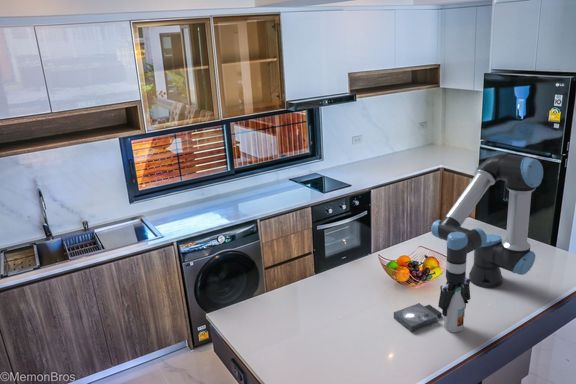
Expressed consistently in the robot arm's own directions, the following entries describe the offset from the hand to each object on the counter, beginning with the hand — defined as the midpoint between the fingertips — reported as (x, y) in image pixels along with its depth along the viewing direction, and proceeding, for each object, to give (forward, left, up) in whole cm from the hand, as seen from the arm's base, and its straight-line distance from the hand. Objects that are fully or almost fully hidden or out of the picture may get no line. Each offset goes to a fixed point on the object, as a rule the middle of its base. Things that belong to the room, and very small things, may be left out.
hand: (453, 318), depth 199 cm
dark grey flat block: (+8, -12, -4) cm, 15 cm away
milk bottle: (0, 0, -4) cm, 4 cm away
